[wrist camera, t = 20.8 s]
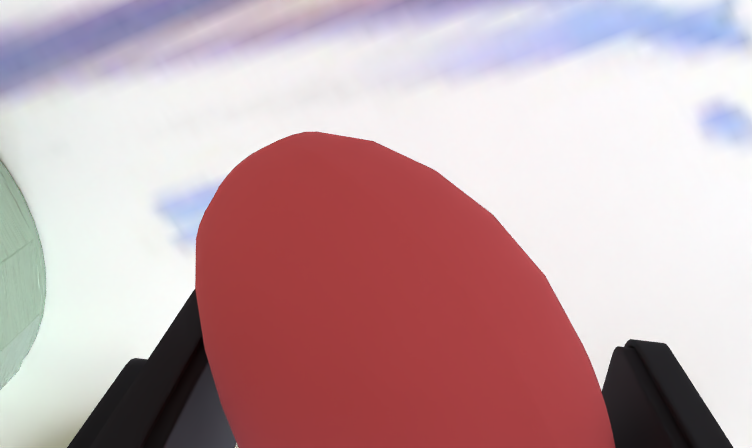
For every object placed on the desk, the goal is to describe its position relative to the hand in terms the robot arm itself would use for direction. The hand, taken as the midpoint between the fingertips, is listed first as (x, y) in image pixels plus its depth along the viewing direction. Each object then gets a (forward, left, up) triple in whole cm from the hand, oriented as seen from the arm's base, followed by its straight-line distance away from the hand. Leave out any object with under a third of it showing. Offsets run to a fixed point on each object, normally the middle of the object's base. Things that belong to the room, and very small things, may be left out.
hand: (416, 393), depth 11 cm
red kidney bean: (0, 0, -1) cm, 1 cm away
